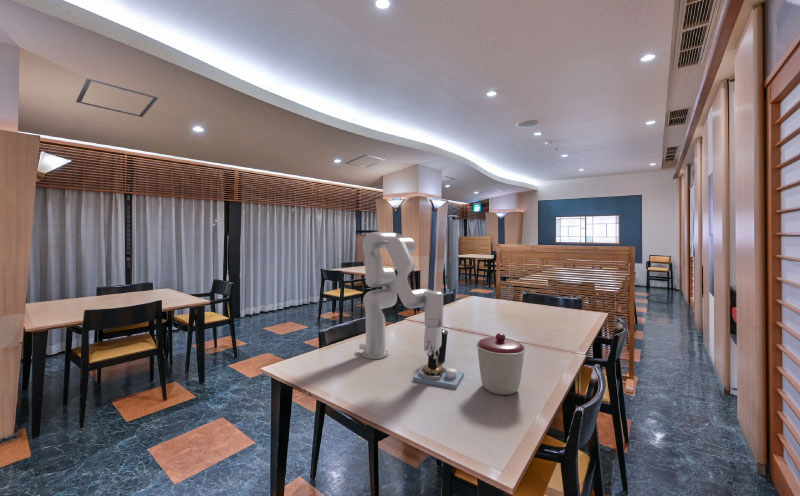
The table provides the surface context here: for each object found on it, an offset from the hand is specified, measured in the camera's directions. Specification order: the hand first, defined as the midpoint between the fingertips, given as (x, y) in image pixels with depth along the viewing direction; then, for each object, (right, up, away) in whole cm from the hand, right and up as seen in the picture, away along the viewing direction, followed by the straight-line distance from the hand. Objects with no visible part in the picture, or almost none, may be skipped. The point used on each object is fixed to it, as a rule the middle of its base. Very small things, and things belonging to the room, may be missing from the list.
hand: (433, 366), depth 133 cm
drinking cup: (+5, -4, +18) cm, 19 cm away
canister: (+24, -5, -10) cm, 27 cm away
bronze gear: (0, -2, 0) cm, 2 cm away
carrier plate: (+2, -5, -1) cm, 5 cm away
